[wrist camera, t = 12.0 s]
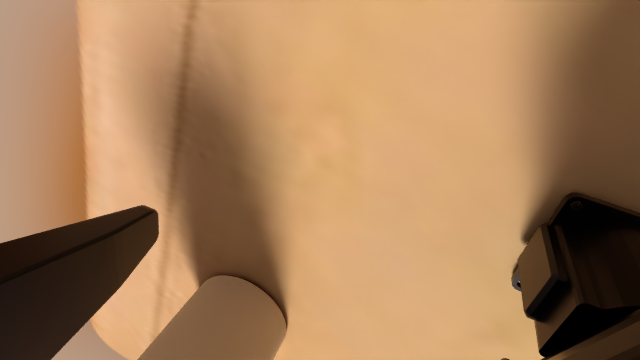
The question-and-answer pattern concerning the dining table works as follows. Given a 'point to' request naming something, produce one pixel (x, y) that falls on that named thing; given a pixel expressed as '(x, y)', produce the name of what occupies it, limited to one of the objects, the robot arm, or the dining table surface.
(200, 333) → the travel mug
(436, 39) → the dining table surface
